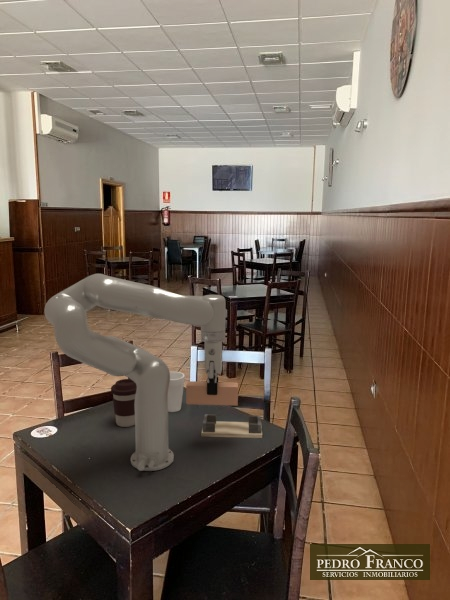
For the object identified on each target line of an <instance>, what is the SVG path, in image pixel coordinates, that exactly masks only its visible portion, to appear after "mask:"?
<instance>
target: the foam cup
mask: <svg viewBox="0 0 450 600" xmlns="http://www.w3.org/2000/svg"><path fill="white" fill-rule="evenodd" d="M185 375H186V374H185V373H183V372H180V371H170V383H169V389H168V413H176V412H179V411H180V410H181V408H182V402H183V393H184V387H185V381H186V379H185Z"/></svg>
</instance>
